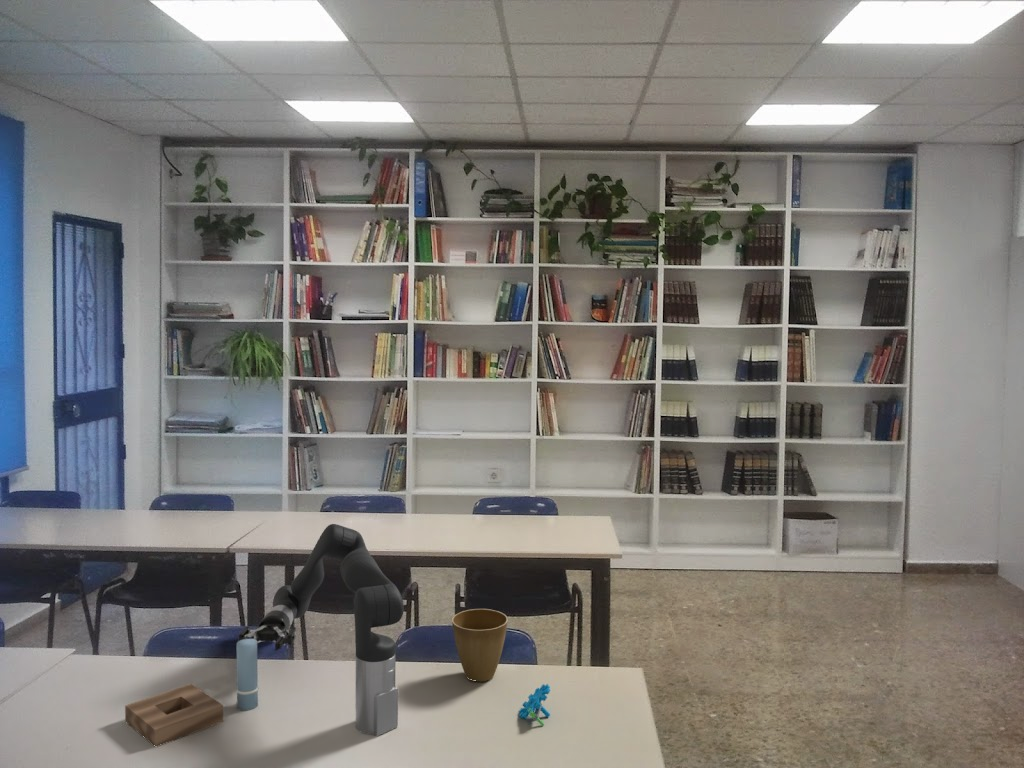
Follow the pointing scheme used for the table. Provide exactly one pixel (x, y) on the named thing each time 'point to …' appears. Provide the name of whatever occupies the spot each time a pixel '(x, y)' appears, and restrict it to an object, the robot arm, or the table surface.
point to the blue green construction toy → (535, 704)
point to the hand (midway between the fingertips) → (260, 647)
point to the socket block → (173, 714)
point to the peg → (247, 674)
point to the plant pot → (479, 641)
